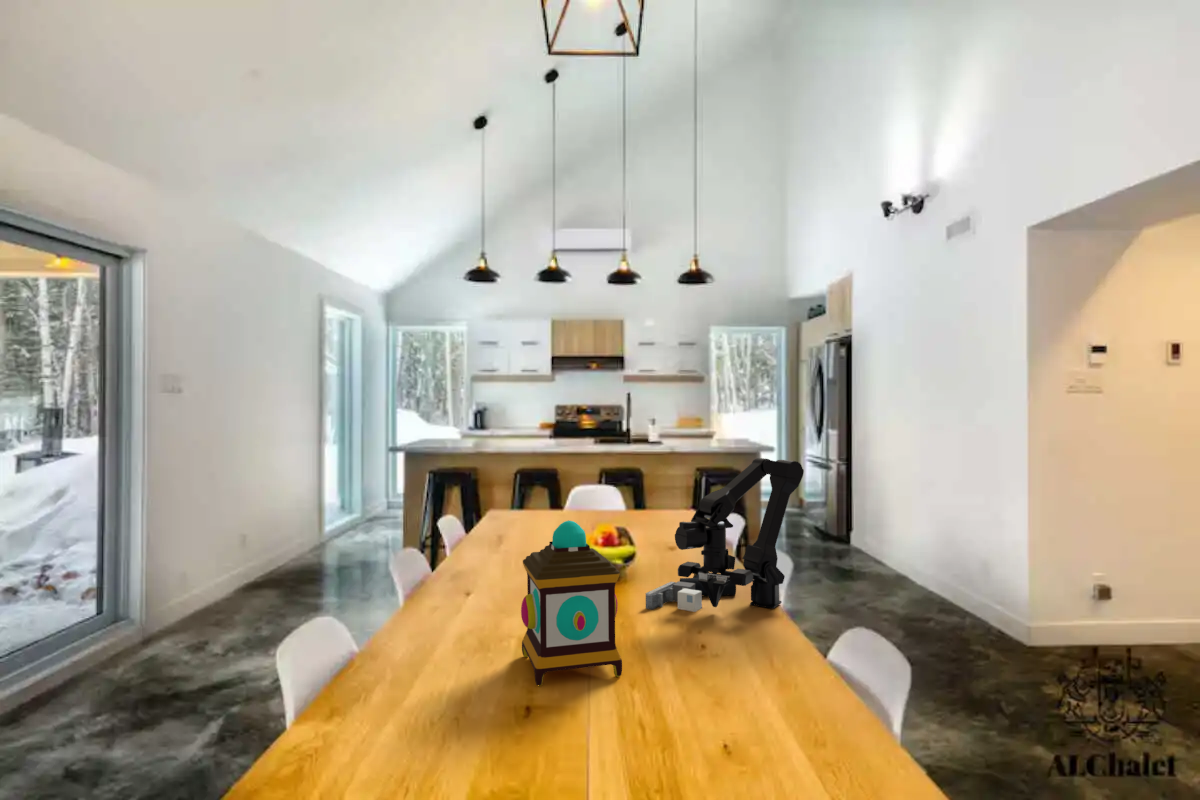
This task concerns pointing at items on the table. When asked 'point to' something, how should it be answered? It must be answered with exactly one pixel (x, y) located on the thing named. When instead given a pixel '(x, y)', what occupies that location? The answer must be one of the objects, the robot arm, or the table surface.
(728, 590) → the pipe connector
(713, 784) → the table surface
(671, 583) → the rail
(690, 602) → the block
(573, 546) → the decorative lantern
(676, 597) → the block
